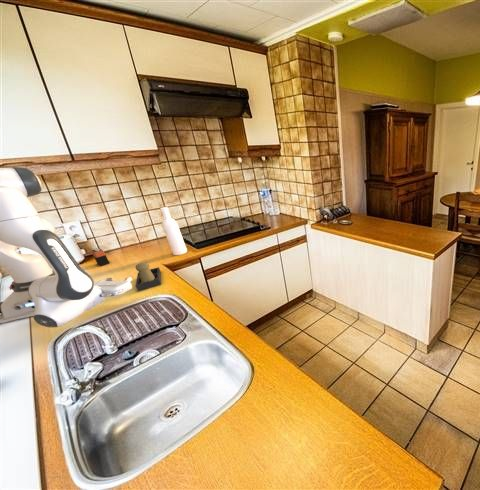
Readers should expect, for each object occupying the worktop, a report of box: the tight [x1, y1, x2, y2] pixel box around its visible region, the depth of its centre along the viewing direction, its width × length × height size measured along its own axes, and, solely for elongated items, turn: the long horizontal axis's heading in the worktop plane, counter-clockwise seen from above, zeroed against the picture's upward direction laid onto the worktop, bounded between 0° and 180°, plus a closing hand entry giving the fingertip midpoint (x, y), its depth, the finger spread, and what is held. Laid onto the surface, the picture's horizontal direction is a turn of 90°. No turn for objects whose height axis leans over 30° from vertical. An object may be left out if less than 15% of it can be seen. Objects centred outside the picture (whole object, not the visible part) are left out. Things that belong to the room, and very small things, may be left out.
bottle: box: [159, 206, 188, 256], centre depth 165 cm, size 8×8×30 cm
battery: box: [90, 247, 110, 267], centre depth 160 cm, size 4×7×10 cm, turn 56°
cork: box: [135, 261, 156, 283], centre depth 132 cm, size 6×6×11 cm
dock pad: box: [135, 266, 162, 292], centre depth 137 cm, size 9×18×3 cm, turn 36°
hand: (120, 278), depth 120 cm, fingers open, 8 cm apart
